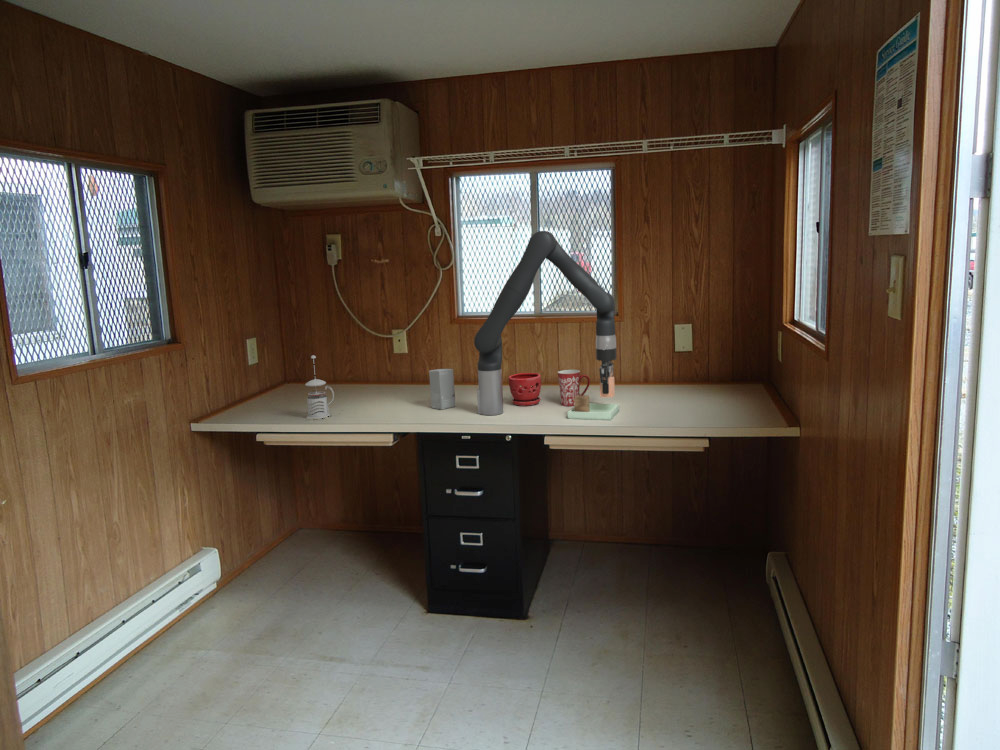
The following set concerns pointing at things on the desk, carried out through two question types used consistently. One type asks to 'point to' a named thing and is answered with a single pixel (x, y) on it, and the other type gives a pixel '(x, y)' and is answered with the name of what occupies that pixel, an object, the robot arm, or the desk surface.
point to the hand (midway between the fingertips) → (607, 392)
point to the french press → (314, 399)
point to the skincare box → (442, 388)
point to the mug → (570, 386)
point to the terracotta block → (611, 388)
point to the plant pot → (525, 388)
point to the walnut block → (581, 403)
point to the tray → (595, 412)
